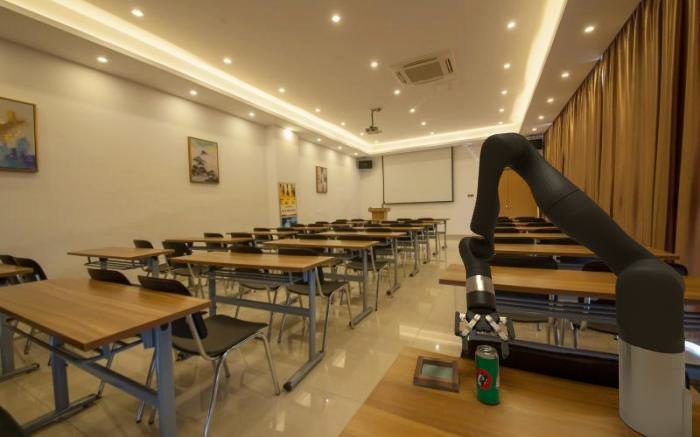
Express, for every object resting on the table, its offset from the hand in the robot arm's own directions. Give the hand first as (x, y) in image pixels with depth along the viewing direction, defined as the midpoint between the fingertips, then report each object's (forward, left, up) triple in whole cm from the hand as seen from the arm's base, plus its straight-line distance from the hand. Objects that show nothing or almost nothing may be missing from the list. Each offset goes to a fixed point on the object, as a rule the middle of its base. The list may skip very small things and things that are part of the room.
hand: (485, 355), depth 71 cm
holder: (+12, -3, -9) cm, 15 cm away
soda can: (0, +3, -9) cm, 10 cm away
